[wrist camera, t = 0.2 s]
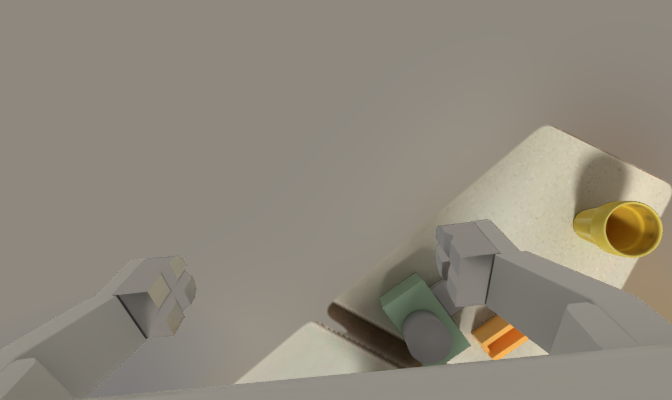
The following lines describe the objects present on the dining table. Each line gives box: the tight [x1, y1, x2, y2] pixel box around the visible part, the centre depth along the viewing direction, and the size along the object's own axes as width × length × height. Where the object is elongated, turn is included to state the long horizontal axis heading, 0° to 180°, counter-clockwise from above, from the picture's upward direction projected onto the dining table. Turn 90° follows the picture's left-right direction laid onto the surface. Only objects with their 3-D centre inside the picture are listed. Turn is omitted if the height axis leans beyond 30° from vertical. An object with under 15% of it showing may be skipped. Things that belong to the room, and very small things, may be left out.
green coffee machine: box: [379, 272, 471, 367], centre depth 57 cm, size 16×25×11 cm, turn 126°
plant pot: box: [573, 201, 663, 258], centre depth 56 cm, size 10×10×10 cm
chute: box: [471, 315, 529, 360], centre depth 59 cm, size 5×12×5 cm, turn 126°
